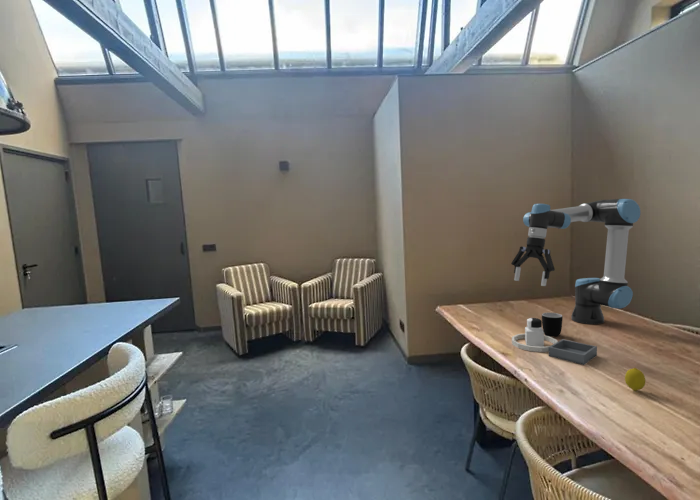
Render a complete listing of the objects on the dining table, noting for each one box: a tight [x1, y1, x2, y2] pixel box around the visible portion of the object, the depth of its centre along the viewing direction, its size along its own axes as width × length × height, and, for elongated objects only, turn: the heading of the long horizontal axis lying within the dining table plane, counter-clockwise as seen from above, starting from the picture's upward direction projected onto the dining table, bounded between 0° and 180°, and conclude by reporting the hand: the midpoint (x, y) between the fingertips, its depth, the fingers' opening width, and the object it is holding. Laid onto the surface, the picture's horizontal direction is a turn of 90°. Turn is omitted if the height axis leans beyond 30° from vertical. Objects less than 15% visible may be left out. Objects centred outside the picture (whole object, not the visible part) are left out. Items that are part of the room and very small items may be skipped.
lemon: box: [624, 367, 646, 392], centre depth 130 cm, size 6×6×8 cm
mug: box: [541, 312, 563, 338], centre depth 190 cm, size 12×9×10 cm
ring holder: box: [511, 333, 558, 353], centre depth 178 cm, size 19×19×2 cm
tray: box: [548, 338, 598, 366], centre depth 162 cm, size 14×14×4 cm
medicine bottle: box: [524, 317, 545, 347], centre depth 177 cm, size 7×7×12 cm
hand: (529, 283), depth 179 cm, fingers open, 13 cm apart
